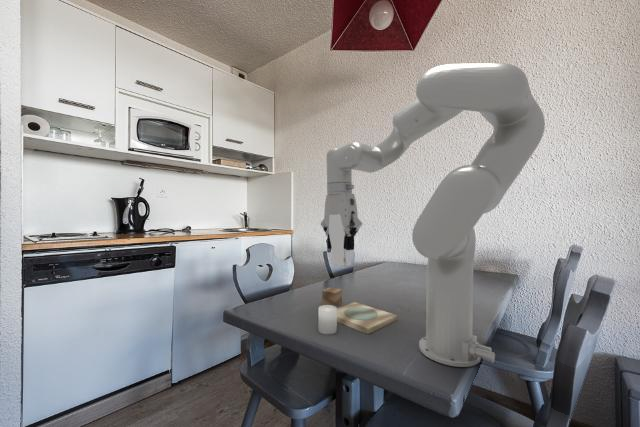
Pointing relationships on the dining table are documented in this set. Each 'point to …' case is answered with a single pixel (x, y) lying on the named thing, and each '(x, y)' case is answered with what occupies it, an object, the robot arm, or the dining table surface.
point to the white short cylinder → (327, 319)
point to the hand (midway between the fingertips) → (340, 248)
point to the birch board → (364, 317)
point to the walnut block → (332, 296)
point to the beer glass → (338, 241)
